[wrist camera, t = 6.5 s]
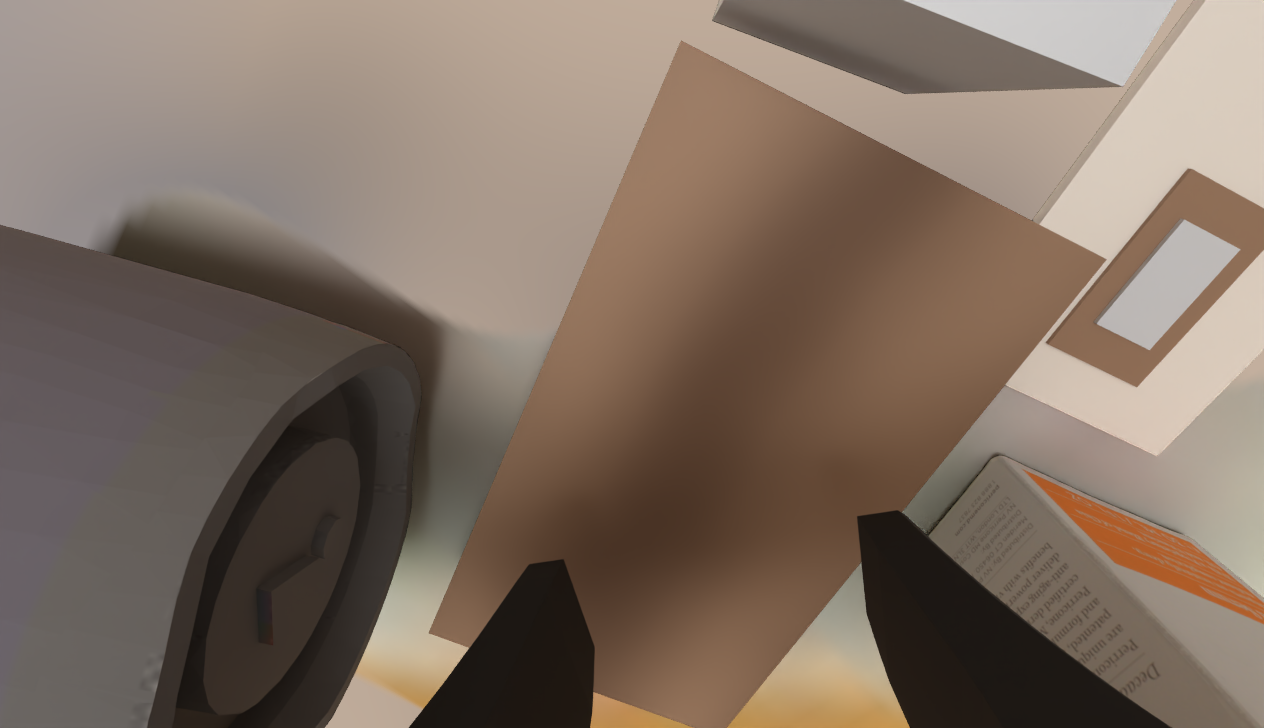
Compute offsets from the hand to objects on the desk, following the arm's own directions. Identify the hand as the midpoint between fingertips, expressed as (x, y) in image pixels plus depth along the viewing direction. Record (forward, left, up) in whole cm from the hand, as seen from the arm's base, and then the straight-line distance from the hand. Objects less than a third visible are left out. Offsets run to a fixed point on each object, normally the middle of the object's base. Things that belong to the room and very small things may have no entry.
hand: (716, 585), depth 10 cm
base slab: (0, 0, -5) cm, 5 cm away
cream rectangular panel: (-7, -8, -5) cm, 12 cm away
